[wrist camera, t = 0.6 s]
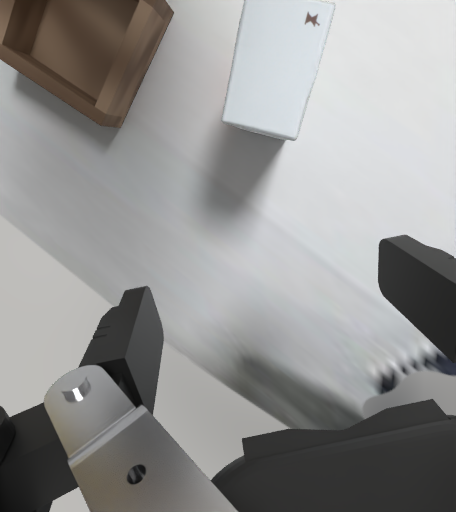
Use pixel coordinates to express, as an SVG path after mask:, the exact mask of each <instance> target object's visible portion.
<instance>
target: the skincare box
mask: <svg viewBox="0 0 456 512" xmlns="http://www.w3.org/2000/svg"><path fill="white" fill-rule="evenodd" d="M334 11H335V3H332V2H327V1H322V0H245V1H244V5H243V10H242V14H241V19H240V23H239V28H238V33H237V38H236V44H235V50H234V56H233V62H232V67H231V73H230V78H229V83H228V88H227V94H226V99H225V104H224V109H223V114H222V119H221V121H222V122H223V123H226V124H228V125H231V126H234V127H237V128H240V129H243V130H246V131H250V132H254V133H258V134H262V135H266V136H269V137H274V138H278V139H282V140H292V141H295V140H296V139H297V137H298V134H299V131H300V127H301V124H302V121H303V117H304V114H305V110H306V107H307V103H308V100H309V97H310V93H311V90H312V87H313V85H314V82H315V79H316V76H317V72H318V67H319V64H320V60H321V57H322V54H323V50H324V46H325V43H326V39H327V36H328V32H329V29H330V25H331V22H332V18H333V14H334Z"/></svg>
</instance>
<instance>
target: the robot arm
mask: <svg viewBox="0 0 456 512" xmlns="http://www.w3.org/2000/svg"><path fill="white" fill-rule="evenodd" d="M378 283H379V288H380V290H381V292H382V294H383V296H384V297H385V298H386V299H387V300H388V301H389V302H390V303H391V304H392V305H393V306H394V307H395V308H396V309H397V310H399V311H400V312H401V313H402V314H403V315H404V316H405V317H406V318H407V319H408V320H409V321H410V322H411V323H412V324H413V325H414V326H415V327H416V328H417V329H418V330H419V331H420V332H422V333H423V334H424V335H425V336H426V337H427V338H428V339H429V340H430V341H431V342H432V343H433V344H434V345H435V346H436V347H437V348H438V349H439V350H440V351H441V352H442V353H443V354H444V355H446V356H447V357H448V358H449V359H450V360H451V361H452V362H453V363H455V362H456V258H454V257H453V256H452V255H450V254H448V253H446V252H444V251H442V250H440V249H436V248H433V247H429V246H426V245H424V244H422V243H420V242H418V241H417V240H415V239H413V238H411V237H409V236H408V235H401V236H396V237H391V238H386V239H382V240H381V241H380V243H379V262H378ZM163 341H164V336H163V328H162V324H161V320H160V317H159V314H158V311H157V308H156V305H155V302H154V299H153V296H152V293H151V290H150V288H149V287H148V286H144V287H139V288H134V289H129V290H126V291H125V292H124V294H123V297H122V299H121V302H120V304H119V306H117V307H112V308H111V309H110V310H109V311H108V312H107V313H106V314H105V315H104V316H103V317H102V318H101V320H100V323H99V325H98V327H97V330H96V331H95V333H94V335H93V339H92V340H91V342H90V344H89V346H88V348H87V350H86V352H85V354H84V357H83V359H82V361H81V363H80V365H79V367H78V368H76V369H74V370H72V371H70V372H68V373H66V374H65V375H63V376H62V377H61V378H59V379H58V380H57V381H56V382H55V383H54V384H53V385H52V386H51V387H50V389H49V390H48V391H47V393H46V395H45V398H44V402H43V403H41V404H39V405H37V406H35V407H33V408H30V409H28V410H26V411H23V412H21V413H18V414H16V415H14V416H12V417H9V416H8V414H7V413H6V411H5V410H4V409H3V408H2V407H1V406H0V512H49V511H50V508H51V504H52V501H53V500H55V499H57V498H59V497H61V496H62V495H64V494H66V493H68V492H70V491H72V490H74V489H76V488H77V487H79V488H80V490H81V492H82V495H83V497H84V499H85V501H86V503H87V506H88V508H89V510H90V512H456V416H454V415H446V414H445V413H444V412H443V411H442V410H441V408H440V407H439V406H438V405H437V404H436V402H435V401H434V400H433V399H430V400H426V401H421V402H416V403H411V404H407V405H402V406H397V407H392V408H387V409H385V410H383V411H381V412H379V413H377V414H375V415H373V416H371V417H369V418H367V419H365V420H363V421H361V422H359V423H357V424H355V425H353V426H352V427H350V428H348V429H345V430H338V431H337V430H308V429H286V430H281V431H276V432H272V433H267V434H262V435H257V436H252V437H247V438H242V443H243V450H244V456H242V457H240V458H238V459H236V460H234V461H233V462H231V463H230V464H228V465H227V466H226V467H224V468H223V469H222V470H221V471H220V472H219V473H217V474H216V475H215V477H213V479H212V480H211V481H210V480H209V479H208V477H207V476H206V475H205V474H204V473H203V472H202V471H201V469H200V468H199V467H197V465H196V464H195V463H194V462H193V460H192V459H191V458H190V457H189V456H188V455H187V454H186V453H185V452H184V450H183V449H182V448H181V447H180V446H179V445H178V444H177V442H176V441H175V440H174V439H173V438H172V437H171V436H170V434H169V433H168V432H167V431H166V430H165V429H164V428H163V427H162V426H161V424H160V423H159V422H158V421H157V420H156V419H155V418H154V417H153V410H154V403H155V396H156V389H157V382H158V376H159V369H160V362H161V355H162V348H163Z"/></svg>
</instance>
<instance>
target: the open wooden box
mask: <svg viewBox="0 0 456 512" xmlns="http://www.w3.org/2000/svg"><path fill="white" fill-rule="evenodd" d="M173 13H174V12H173V11H172V9H171V8H170V6H169V5H168V3H167V2H166V1H165V0H0V59H1V60H2V61H4V62H5V63H7V64H8V65H10V66H11V67H13V68H14V69H16V70H17V71H19V72H20V73H22V74H23V75H25V76H26V77H28V78H29V79H31V80H32V81H34V82H35V83H37V84H38V85H40V86H41V87H43V88H45V89H46V90H48V91H49V92H51V93H52V94H54V95H55V96H57V97H58V98H60V99H61V100H63V101H64V102H66V103H67V104H69V105H70V106H72V107H73V108H75V109H76V110H78V111H79V112H81V113H82V114H84V115H85V116H87V117H88V118H90V119H91V120H93V121H94V122H96V123H97V124H99V125H100V126H108V127H117V128H121V125H122V123H123V121H124V119H125V117H126V115H127V113H128V110H129V108H130V106H131V104H132V102H133V100H134V97H135V95H136V93H137V91H138V89H139V87H140V84H141V82H142V80H143V78H144V76H145V74H146V72H147V69H148V67H149V65H150V63H151V61H152V59H153V56H154V54H155V52H156V50H157V48H158V46H159V44H160V41H161V39H162V37H163V35H164V33H165V31H166V28H167V26H168V24H169V22H170V20H171V18H172V16H173Z"/></svg>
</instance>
